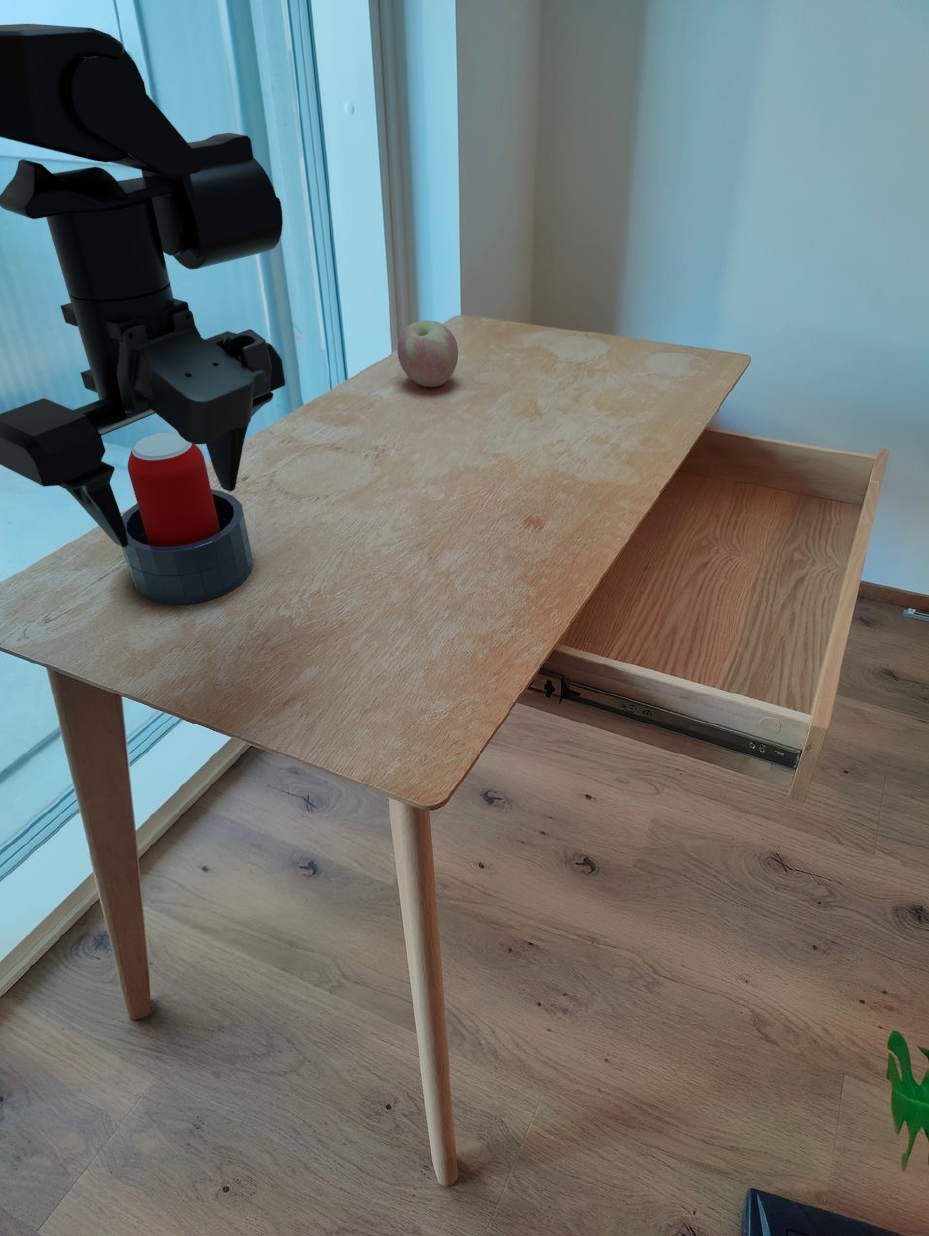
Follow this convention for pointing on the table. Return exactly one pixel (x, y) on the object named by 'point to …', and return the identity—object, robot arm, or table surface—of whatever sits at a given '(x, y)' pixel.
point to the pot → (190, 558)
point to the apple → (428, 353)
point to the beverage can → (172, 490)
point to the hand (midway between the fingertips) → (177, 515)
